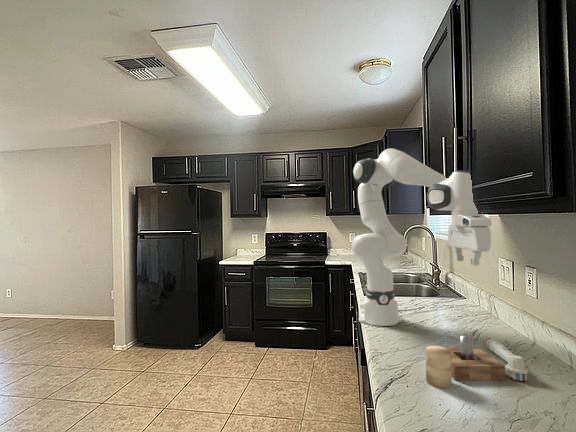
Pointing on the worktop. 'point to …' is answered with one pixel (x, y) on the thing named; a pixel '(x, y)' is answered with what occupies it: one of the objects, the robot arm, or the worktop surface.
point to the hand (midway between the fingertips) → (467, 263)
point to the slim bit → (466, 347)
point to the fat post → (438, 366)
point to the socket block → (475, 366)
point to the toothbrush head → (509, 360)
